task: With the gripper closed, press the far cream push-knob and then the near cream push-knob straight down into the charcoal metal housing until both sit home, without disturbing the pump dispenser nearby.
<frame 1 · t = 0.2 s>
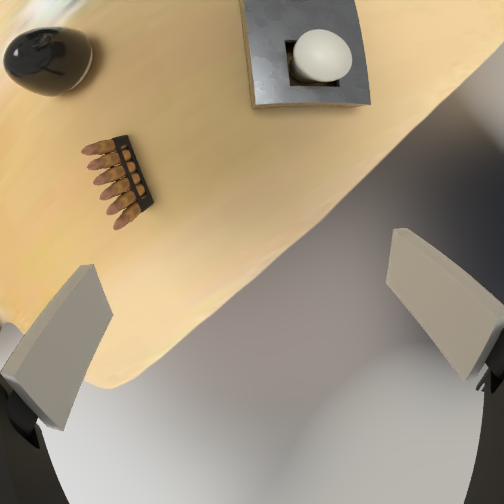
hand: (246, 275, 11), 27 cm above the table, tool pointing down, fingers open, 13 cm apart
ammunition clip: (134, 171, 35), on the table
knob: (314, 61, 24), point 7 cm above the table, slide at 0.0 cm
pump dispenser: (74, 66, 26), on the table
housing: (294, 29, 27), on the table
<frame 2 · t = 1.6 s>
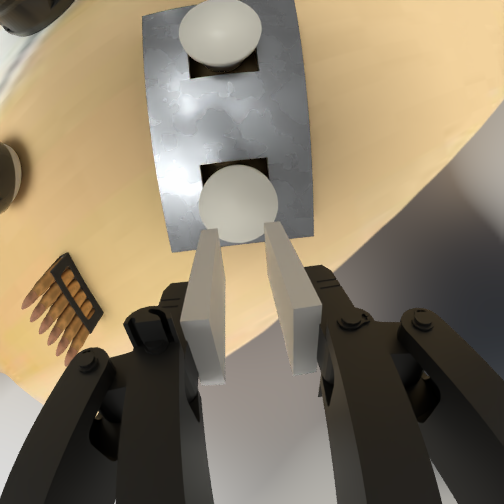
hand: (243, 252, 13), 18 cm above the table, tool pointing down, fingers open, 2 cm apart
ammunition clip: (82, 284, 34), on the table
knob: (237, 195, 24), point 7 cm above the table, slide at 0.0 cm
pump dispenser: (10, 172, 26), on the table
housing: (229, 119, 27), on the table
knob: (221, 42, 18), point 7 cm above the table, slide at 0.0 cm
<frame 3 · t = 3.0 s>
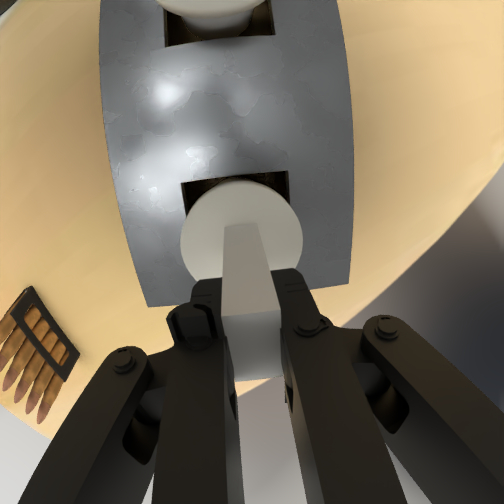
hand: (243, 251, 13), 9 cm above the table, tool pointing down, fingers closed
ammunition clip: (52, 322, 26), on the table
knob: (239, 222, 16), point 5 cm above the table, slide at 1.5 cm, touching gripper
housing: (227, 111, 18), on the table
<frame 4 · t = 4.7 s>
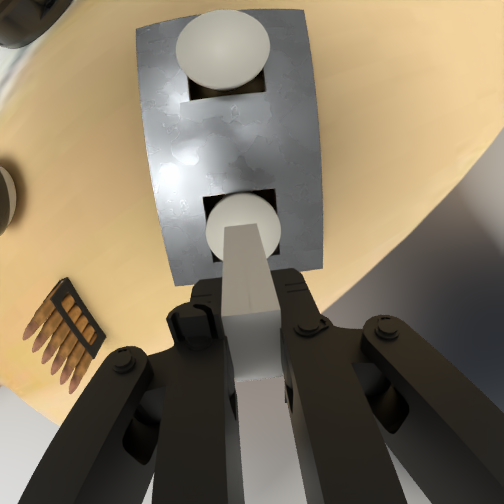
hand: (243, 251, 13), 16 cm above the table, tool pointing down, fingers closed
ammunition clip: (83, 309, 33), on the table
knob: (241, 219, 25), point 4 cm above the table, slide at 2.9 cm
pump dispenser: (5, 193, 25), on the table
housing: (232, 141, 26), on the table
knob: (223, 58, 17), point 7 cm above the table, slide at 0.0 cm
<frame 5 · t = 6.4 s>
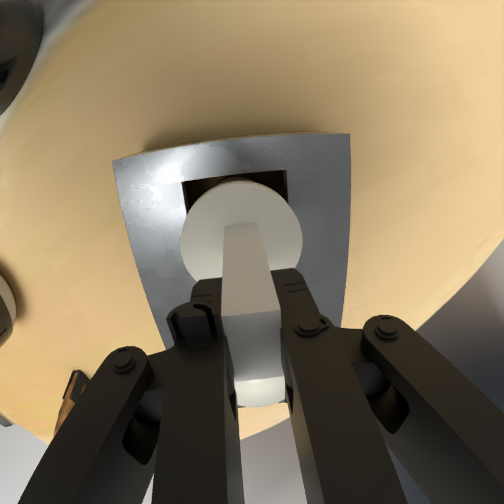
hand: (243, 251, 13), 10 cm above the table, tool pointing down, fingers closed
ammunition clip: (98, 392, 32), on the table
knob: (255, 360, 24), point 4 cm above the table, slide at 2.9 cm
pump dispenser: (1, 289, 23), on the table
housing: (245, 275, 25), on the table
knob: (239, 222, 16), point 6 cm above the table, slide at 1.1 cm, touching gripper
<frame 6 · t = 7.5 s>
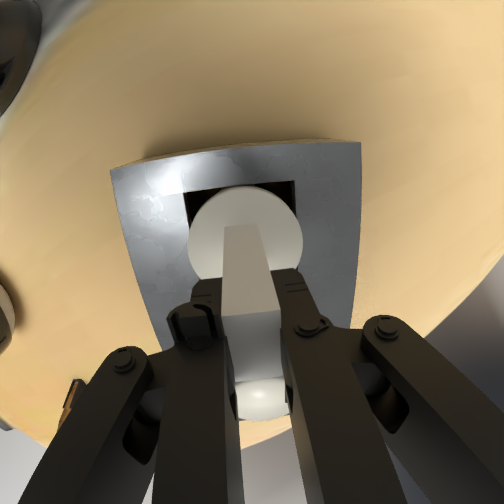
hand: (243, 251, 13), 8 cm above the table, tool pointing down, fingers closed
ammunition clip: (99, 401, 31), on the table
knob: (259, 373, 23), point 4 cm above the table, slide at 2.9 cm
pump dispenser: (0, 296, 23), on the table
housing: (249, 287, 24), on the table
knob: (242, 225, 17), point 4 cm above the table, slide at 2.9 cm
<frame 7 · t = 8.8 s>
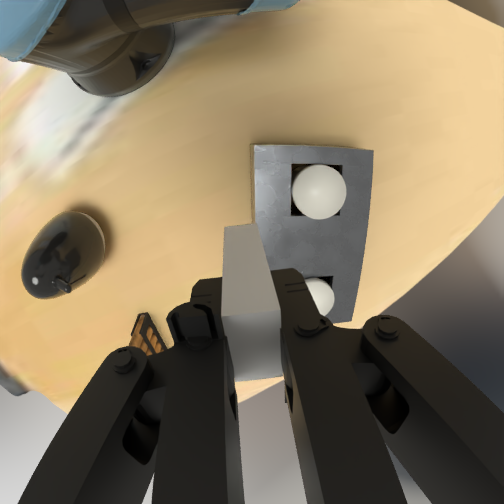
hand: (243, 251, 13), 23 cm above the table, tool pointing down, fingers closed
ammunition clip: (156, 336, 44), on the table
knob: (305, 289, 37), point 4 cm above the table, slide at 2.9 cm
pump dispenser: (86, 236, 36), on the table
housing: (302, 231, 38), on the table
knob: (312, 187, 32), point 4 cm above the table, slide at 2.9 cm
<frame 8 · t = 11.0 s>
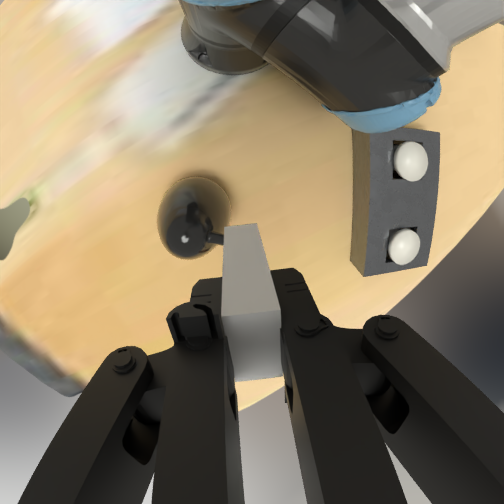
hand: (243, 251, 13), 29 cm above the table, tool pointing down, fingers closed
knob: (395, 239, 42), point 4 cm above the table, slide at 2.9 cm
pump dispenser: (199, 204, 42), on the table
housing: (387, 194, 43), on the table
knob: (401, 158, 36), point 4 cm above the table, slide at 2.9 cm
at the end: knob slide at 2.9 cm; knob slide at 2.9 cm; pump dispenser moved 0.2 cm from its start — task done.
